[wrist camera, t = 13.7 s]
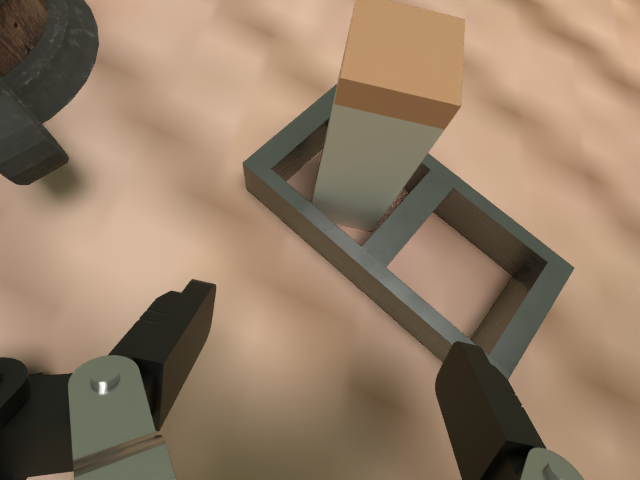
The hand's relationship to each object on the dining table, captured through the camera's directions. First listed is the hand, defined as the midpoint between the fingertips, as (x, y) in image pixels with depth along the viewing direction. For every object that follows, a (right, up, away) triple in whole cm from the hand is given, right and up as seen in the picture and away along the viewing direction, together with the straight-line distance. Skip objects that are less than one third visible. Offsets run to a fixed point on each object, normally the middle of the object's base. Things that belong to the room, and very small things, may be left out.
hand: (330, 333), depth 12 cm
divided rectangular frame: (+4, +3, +10) cm, 12 cm away
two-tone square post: (+1, +6, +11) cm, 12 cm away
